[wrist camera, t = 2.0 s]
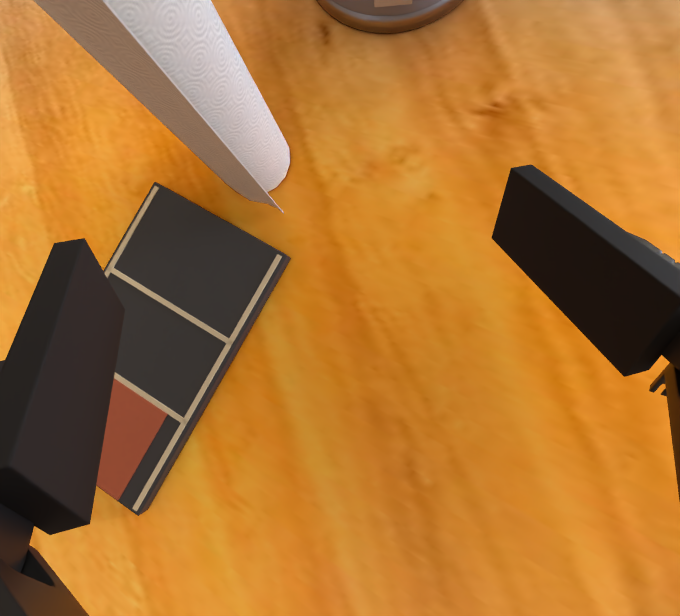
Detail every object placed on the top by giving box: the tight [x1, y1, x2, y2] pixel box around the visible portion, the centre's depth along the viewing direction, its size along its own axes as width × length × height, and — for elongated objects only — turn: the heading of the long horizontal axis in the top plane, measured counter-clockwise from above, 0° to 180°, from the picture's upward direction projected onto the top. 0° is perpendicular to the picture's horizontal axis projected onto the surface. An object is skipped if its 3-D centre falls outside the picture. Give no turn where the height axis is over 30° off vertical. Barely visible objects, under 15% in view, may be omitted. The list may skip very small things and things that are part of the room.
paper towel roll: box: [34, 0, 290, 213], centre depth 23 cm, size 7×6×21 cm
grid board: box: [96, 182, 291, 516], centre depth 32 cm, size 23×13×1 cm, turn 150°
